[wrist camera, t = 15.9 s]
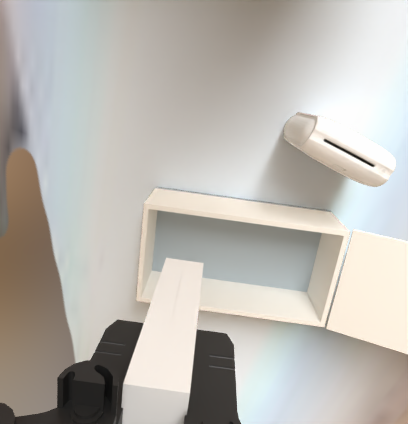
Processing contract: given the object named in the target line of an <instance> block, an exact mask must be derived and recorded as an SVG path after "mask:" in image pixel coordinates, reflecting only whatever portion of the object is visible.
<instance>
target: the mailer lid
mask: <svg viewBox="0 0 408 424" xmlns="http://www.w3.org/2000/svg"><path fill="white" fill-rule="evenodd" d="M326 329H328V330H332V331H335V332H338V333H341V334H344V335H348V336H351V337H354V338H357V339H360V340H364V341H367V342H370V343H373V344H376V345H380V346H383V347H386V348H389V349H392V350H396V351H399V352H402V353H405V354H408V241H404V240H400V239H395V238H391V237H387V236H382V235H378V234H373V233H369V232H364V231H360V230H356V229H353V232H352V236H351V239H350V243H349V247H348V250H347V254H346V257H345V261H344V265H343V268H342V272H341V275H340V279H339V283H338V286H337V290H336V294H335V297H334V301H333V304H332V308H331V312H330V315H329V319H328V322H327V326H326Z"/></svg>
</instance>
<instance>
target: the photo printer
mask: <svg viewBox="0 0 408 424" xmlns="http://www.w3.org/2000/svg"><path fill="white" fill-rule="evenodd" d="M283 138H284V139H285V140H286V141H287V142H288V143H290V144H291V145H293V146H294V147H296V148H298V149H299V150H301V151H302V152H304V153H305V154H307V155H308V156H310V157H311V158H313V159H315V160H316V161H318V162H320V163H322V164H323V165H325V166H327V167H329V168H331V169H332V170H334V171H336V172H338V173H340V174H342V175H344V176H346V177H348V178H350V179H352V180H354V181H356V182H359V183H362V184H364V185H368V186H372V187H377V186H381V185H382V184H384V183H385V182H387V181H388V179H389V176H390V175H391V174H392V172H393V171H394V170H395V166H396V161H395V158H394V157H393V156H392V155H391V154H390V153H389V152H388V151H387V150H385V149H384V148H382V147H381V146H379V145H378V144H376V143H374V142H372V141H371V140H369V139H367V138H365V137H364V136H362V135H360V134H358V133H356V132H354V131H352V130H351V129H349V128H347V127H345V126H343V125H341V124H338V123H336V122H334V121H332V120H330V119H327V118H324V117H321V116H316V115H311V114H306V113H300V112H298V113H297V114H296V115H295V116H293V117H291V118H290V119H289V120H288V121H287V122H286V124H285V127H284V136H283Z"/></svg>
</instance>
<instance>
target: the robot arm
mask: <svg viewBox="0 0 408 424" xmlns="http://www.w3.org/2000/svg"><path fill="white" fill-rule="evenodd" d="M203 264H204V263H200V262H193V261H185V260H178V259H171V258H166V260H165V263H164V266H163V269H162V272H161V275H160V277H159V280H158V283H157V286H156V289H155V292H154V295H153V298H152V301H151V304H150V307H149V310H148V313H147V315H146V318H145V321H144V323H138V322H130V321H123V320H117V321H115V322H114V323H113V324H112V325H110V326H109V327H108V328H107V329H106V330H105V332H104V334H103V336H102V338H101V340H100V343H99V344H98V346H97V348H96V350H95V353H94V354H93V356H92V358H91V360H90V361H83V362H79V363H76V364H73V365H72V366H70V367H68V368H67V369H65V370H64V371H63V372H62V373H61V374H60V376H59V377H58V396H57V398H58V401H57V404H58V405H57V408H55V409H53V410H50V411H48V412H44V413H40V414H33V415H27V416H19V417H15V416H14V413H13V410H12V409H11V408H10V407H9V406H7V405H6V404H4V403H0V424H241V422H240V420H239V418H238V413H237V399H236V380H235V361H234V345H233V343H232V342H231V340H230V338H229V337H228V335H227V334H225V333H218V332H211V331H203V330H197V321H198V312H199V302H200V292H201V283H202V273H203Z"/></svg>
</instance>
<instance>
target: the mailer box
mask: <svg viewBox="0 0 408 424" xmlns="http://www.w3.org/2000/svg"><path fill="white" fill-rule="evenodd" d="M349 235H350V231H349V230H348V229H347V228H346V227H345V226H344V225H343V224H342V223H341V222H340V221H339V219H338V218H337V217H336V216H335V215H334V214H333V213H332V212H331V211H327V210H320V209H313V208H305V207H298V206H291V205H283V204H276V203H269V202H262V201H254V200H247V199H240V198H232V197H225V196H218V195H211V194H203V193H196V192H189V191H182V190H174V189H167V188H160V187H156V188H155V189H154V190H153V192H152V193H151V194H150V196H149V197H148V198H147V200H146V201H145V203H144V208H143V221H142V233H141V245H140V258H139V270H138V282H137V295H136V301H139V302H146V303H151V301H152V298H153V295H154V292H155V289H156V286H157V283H158V280H159V277H160V275H161V272H162V269H163V266H164V263H165V260H166V258H171V259H178V260H185V261H193V262H200V263H204V264H203V273H202V283H201V292H200V302H199V310H204V311H211V312H218V313H225V314H233V315H240V316H247V317H254V318H262V319H269V320H276V321H283V322H290V323H298V324H305V325H312V326H319V327H324V326H325V323H326V319H327V315H328V312H329V308H330V304H331V301H332V297H333V294H334V290H335V286H336V283H337V279H338V275H339V272H340V268H341V264H342V261H343V257H344V253H345V250H346V246H347V243H348V239H349Z"/></svg>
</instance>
